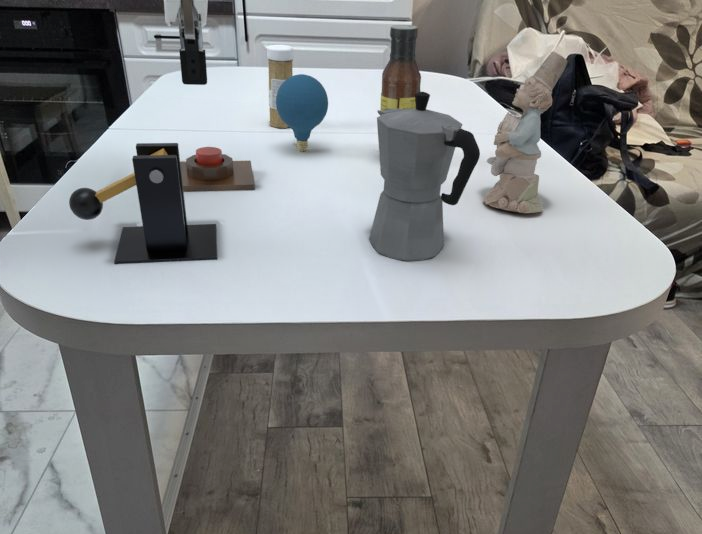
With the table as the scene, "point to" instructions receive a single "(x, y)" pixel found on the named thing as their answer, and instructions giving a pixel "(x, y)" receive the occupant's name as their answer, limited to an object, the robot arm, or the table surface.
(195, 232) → the lamp switch
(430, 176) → the coffeepot
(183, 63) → the robot arm
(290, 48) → the sprinkles bottle
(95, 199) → the switch lever
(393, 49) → the sauce bottle
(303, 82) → the light bulb
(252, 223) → the table surface
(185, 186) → the button block
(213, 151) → the lamp button
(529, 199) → the figurine
